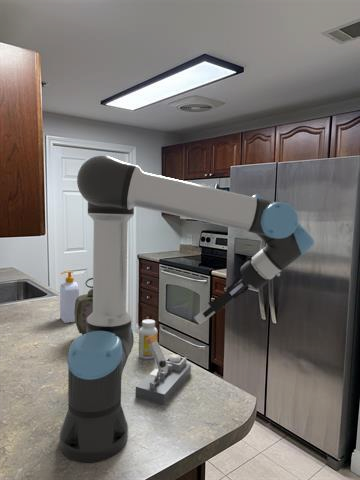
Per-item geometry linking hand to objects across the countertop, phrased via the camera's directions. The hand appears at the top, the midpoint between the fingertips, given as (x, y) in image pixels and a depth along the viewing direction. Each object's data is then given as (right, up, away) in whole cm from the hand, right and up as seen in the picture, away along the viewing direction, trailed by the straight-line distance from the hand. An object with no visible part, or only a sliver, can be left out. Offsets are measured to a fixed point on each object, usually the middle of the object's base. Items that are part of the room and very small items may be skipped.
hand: (197, 320), depth 98 cm
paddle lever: (-9, -17, +5) cm, 20 cm away
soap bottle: (-57, -14, +61) cm, 85 cm away
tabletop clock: (-40, -17, +40) cm, 59 cm away
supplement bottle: (-17, -19, +25) cm, 36 cm away
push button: (-7, -16, +12) cm, 21 cm away
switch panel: (-10, -21, +6) cm, 24 cm away
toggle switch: (-12, -17, -1) cm, 21 cm away
